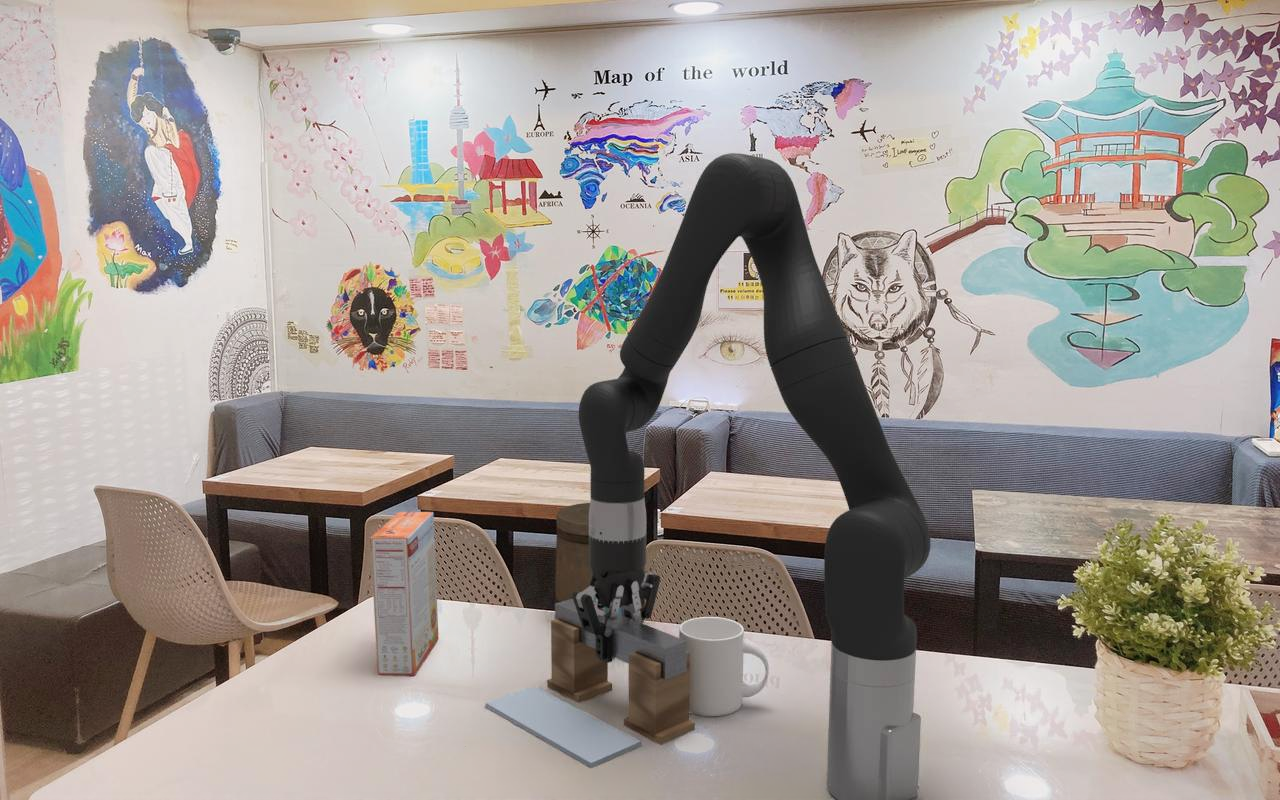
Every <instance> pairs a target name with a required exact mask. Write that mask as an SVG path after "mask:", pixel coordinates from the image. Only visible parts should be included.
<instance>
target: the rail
mask: <svg viewBox="0 0 1280 800" xmlns="http://www.w3.org/2000/svg"><path fill="white" fill-rule="evenodd" d="M606 610H607V609H606ZM554 619H558V620H560V621H562V622H565V623H567V624H569V625H572V626H574V627H577V628H579V642H581V643H583V644H585V645H587V646H590V647H592V648H594V649H596V636H595V635H594V634H592V633H590V632H587V631H585V630H583V628H582V625H581V622H580V619H579V616H578V613H577V609H576V606H575V603H574V600H573V599H569V600H566V601H562V602H559V603H556V602H555V603H554ZM604 622H605V618H604V620H603V625H604ZM611 635H612V657H615V658H614V659H616V660H620V661H622V662H624V663H626V664H628V665H629V653H632V652H635V653H637V654H640V655H642V656H644V657H647V658H649V659H652V660H654V661H656V662H659V663H661V678H662V679H664V680H666V679H668V678H671V677H673V676H676V675H678V674H681V673H683V672H686V671H687V641H686V640H683V639H681V638H679V636H675V635H672V634H670V633H667V632H665V631H662V630H660V629H657V628H655V627H652V626H649V625H647V624H645V623H640V622H637V621H635V620H632V619H630V618H627V617H625V616H622V615H619V614H618V616H617V618H616V619H615V620H614V623H613V629H612V633H611Z"/></svg>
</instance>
